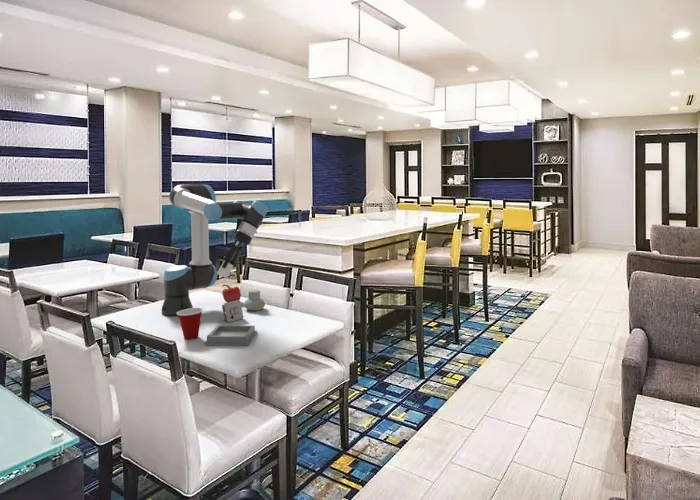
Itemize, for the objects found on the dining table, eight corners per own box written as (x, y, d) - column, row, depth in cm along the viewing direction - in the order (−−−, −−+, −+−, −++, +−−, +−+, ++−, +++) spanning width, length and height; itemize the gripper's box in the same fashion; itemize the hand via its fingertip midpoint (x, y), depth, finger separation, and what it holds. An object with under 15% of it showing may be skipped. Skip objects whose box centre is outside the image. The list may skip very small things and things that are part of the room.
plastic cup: (180, 333, 217) (179, 307, 216) (206, 333, 218) (205, 306, 217) (174, 341, 207) (173, 313, 205) (200, 341, 207) (199, 313, 206)
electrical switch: (228, 323, 235) (226, 303, 234) (221, 322, 238) (220, 302, 237) (243, 319, 242) (242, 300, 241) (237, 318, 245) (235, 299, 245)
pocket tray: (216, 332, 220) (216, 324, 220) (256, 332, 220) (256, 325, 220) (204, 345, 202) (204, 337, 202) (248, 346, 202) (248, 337, 202)
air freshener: (258, 306, 266) (258, 288, 265) (267, 309, 261) (267, 290, 259) (241, 310, 259) (240, 291, 257) (250, 313, 253) (250, 293, 252)
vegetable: (217, 304, 270) (217, 286, 269) (227, 299, 280) (226, 282, 279) (235, 305, 267) (235, 287, 266) (244, 301, 277) (244, 283, 276)
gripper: (250, 233, 208) (225, 278, 205) (254, 241, 233) (232, 281, 229) (234, 225, 208) (209, 270, 204) (240, 233, 232) (218, 274, 229)
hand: (221, 276), depth 217 cm, fingers open, 13 cm apart
